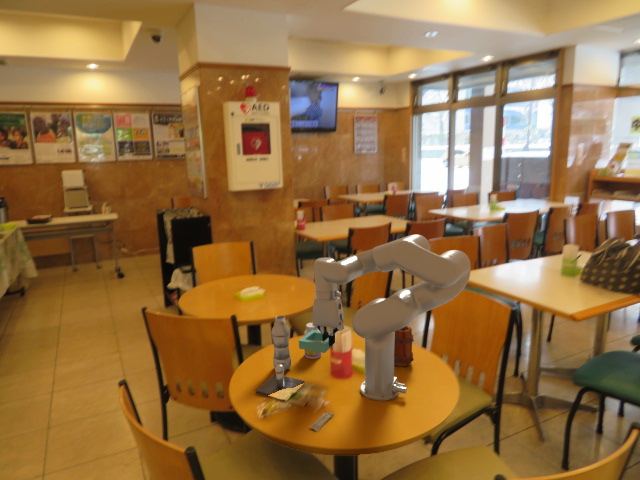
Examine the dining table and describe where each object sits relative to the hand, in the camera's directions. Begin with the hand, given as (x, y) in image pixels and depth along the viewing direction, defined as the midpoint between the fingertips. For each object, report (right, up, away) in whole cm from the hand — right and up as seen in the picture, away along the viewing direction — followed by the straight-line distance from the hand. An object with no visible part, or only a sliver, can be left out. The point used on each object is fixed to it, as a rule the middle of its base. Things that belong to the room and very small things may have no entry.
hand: (329, 344), depth 153 cm
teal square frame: (-4, -1, +2) cm, 4 cm away
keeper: (-17, -14, -5) cm, 22 cm away
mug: (+25, -10, +12) cm, 30 cm away
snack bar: (-3, -18, -23) cm, 30 cm away
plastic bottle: (-17, -11, +9) cm, 22 cm away
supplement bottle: (-6, -9, +19) cm, 22 cm away
